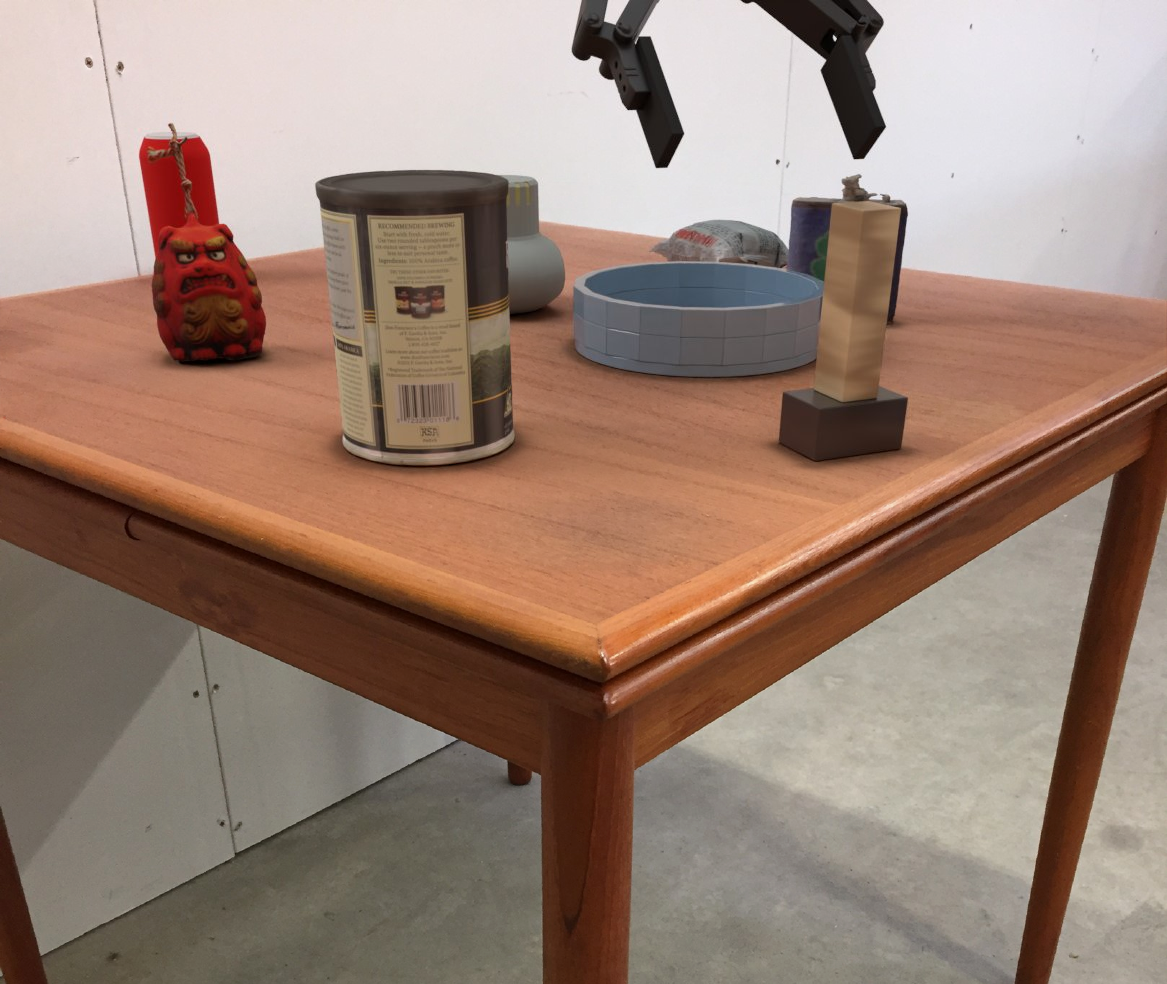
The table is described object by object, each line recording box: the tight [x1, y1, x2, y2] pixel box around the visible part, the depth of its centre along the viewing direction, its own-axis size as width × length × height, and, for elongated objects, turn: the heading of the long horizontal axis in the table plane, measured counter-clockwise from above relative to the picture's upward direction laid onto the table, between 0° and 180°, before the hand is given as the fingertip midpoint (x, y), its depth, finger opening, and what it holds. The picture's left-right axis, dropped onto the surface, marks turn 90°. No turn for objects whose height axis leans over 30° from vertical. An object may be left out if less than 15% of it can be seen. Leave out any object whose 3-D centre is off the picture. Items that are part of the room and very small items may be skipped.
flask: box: [785, 173, 909, 325], centre depth 102 cm, size 9×3×11 cm, turn 71°
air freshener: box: [498, 174, 566, 315], centre depth 104 cm, size 11×8×10 cm
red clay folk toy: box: [147, 122, 267, 363], centre depth 89 cm, size 8×7×15 cm
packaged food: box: [648, 219, 789, 269], centre depth 118 cm, size 9×12×5 cm
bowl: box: [572, 261, 824, 378], centre depth 94 cm, size 19×19×4 cm
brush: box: [778, 201, 909, 462], centre depth 71 cm, size 6×4×13 cm, turn 114°
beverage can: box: [138, 131, 220, 258], centre depth 115 cm, size 6×6×12 cm
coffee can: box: [314, 169, 516, 466], centre depth 71 cm, size 10×10×14 cm
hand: (773, 147), depth 74 cm, fingers open, 13 cm apart
